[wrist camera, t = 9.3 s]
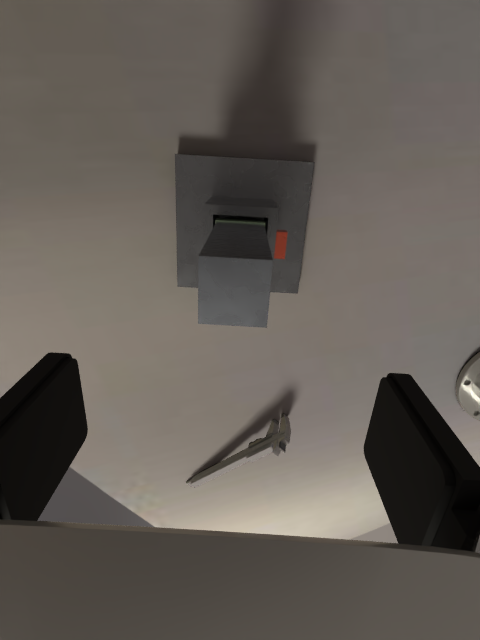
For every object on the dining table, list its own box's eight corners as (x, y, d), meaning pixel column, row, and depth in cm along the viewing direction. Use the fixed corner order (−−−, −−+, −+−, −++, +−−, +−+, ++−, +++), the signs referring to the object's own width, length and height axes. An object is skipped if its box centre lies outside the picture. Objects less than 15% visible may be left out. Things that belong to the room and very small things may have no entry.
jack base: (311, 162, 37) (330, 162, 29) (296, 289, 43) (307, 319, 35) (177, 154, 37) (157, 152, 29) (179, 282, 43) (163, 311, 35)
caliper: (283, 410, 51) (288, 442, 45) (288, 415, 51) (293, 447, 45) (186, 480, 57) (179, 516, 51) (191, 484, 57) (184, 520, 51)
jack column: (264, 219, 32) (275, 258, 19) (260, 264, 34) (268, 329, 21) (217, 216, 32) (196, 254, 19) (216, 262, 34) (196, 324, 21)
